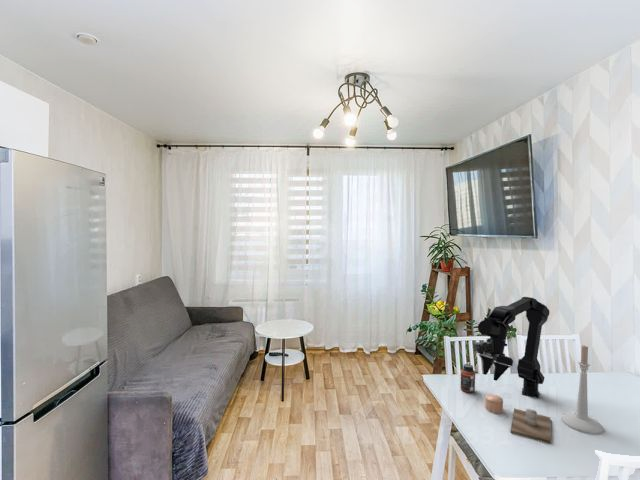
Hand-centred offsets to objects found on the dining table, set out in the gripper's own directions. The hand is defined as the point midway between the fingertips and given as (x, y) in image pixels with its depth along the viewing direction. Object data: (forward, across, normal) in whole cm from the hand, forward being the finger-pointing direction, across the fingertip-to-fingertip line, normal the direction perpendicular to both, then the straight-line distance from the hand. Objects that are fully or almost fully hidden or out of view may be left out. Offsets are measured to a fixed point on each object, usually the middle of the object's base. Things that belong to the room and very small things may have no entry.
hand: (489, 377), depth 142 cm
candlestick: (+7, +6, +33) cm, 34 cm away
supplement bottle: (+11, -19, +1) cm, 22 cm away
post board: (+12, +9, +14) cm, 20 cm away
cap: (+12, -3, +6) cm, 14 cm away
